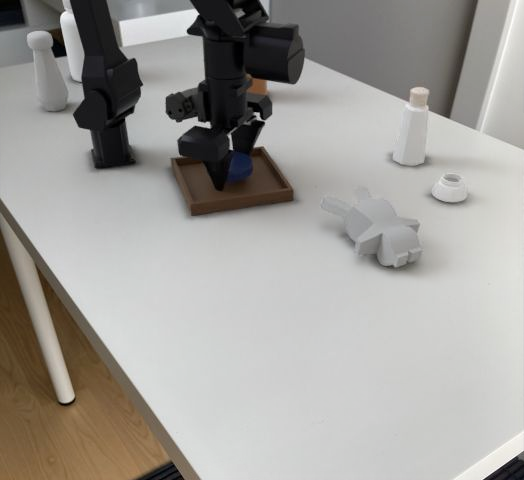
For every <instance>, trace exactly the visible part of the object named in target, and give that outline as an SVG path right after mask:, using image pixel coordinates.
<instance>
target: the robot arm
mask: <svg viewBox="0 0 524 480" xmlns="http://www.w3.org/2000/svg"><path fill="white" fill-rule="evenodd" d="M69 1H70V4H71V8H72V11H73V15H74V19H75V22H76V26H77V29H78V33H79V36H80V40H81V43H82V47H83V50H84V62H83V68H82V75H81V80H82V82H81V87H82V92H83V98H84V99H82V101H81V102H80V103H79V105H78V106H77V108H76V109H75V110H74V111H73V113H72V117H73V119H74V121H75V123H76V125H77V127H78V128H79V129H83V130H88V131H89V134H90V137H91V139H90V140H91V143H92V148H91V149H90V152H91V156H92V161H93V167H94V168H95V169H102V168H109V167H116V166H117V167H118V166H124V165H131V164H136V157H135V154H134V150H133V148H132V145H131V144H130V141H129V133H128V127H127V122H126V120H127V119H126V118H127V117H129V116H130V115H133V114H135V109H136V105H137V104H138V102H139V101H140V98H141V96H142V87H143V86H144V83H143V81H142V79H141V77H140V73H139V66H138V61H137V59H136V58H135V57H130V58H128V57H127V56H126V54H125V53H124V52H123V51H122V50H121V48H120V47H119V45H118V41H117V36H116V32H115V28H114V24H113V21H112V16H111V13H110V10H109V5H108V0H69ZM189 2H190V4H191V5H192V6H193V8H194V9H195V11H196V12H197V13H198V15H197V16H196V18H195V20H194V21H193V23H191V25H190V26H189V27H187V29H186V34H187V35H189V36H195V37H202V53H203V54H202V55H203V70H204V79H203V80H201V81H200V82H198V85H197V86H196V87H193V88H188V89H185V90H182V91H177V92H175V93H173V92H172V93H170V94H168V95H167V96H166V97H165V114H166V116H168V118H169V119H170V120H172V121H175V123H176V124H178V123H182V122H183V121H185V120H190V119H194V118H197V122H198V123H204V124H205V123H209V125H210V126H209V127H205V126H200V125H193V126H192V127H191V128H189V129H188V130H187V131H185V132H184V133H183V134H182V135H181V136H179V138H178V139H176V140H177V141H176V142H177V151H178V155H179V157H182V156H184V157H189V158H194V159H199V160H202V161H203V163H204V165H205V167H206V169H207V171H208V173H209V176H210V178H211V180H212V183H213V185H214V187H215V189H216V190H218V191H222V190H223V188H224V185H225V182H226V179H227V175H228V172H229V168H230V165H231V161H232V158H233V154H234V151H236V152H241V153H244V154H247V155H248V156H250V154H251V152H252V150H253V148H254V147H255V145H256V144H257V141H258V139H259V137H260V135H261V132H262V131H263V128H264V127H265V126H266V121H267V120H268V119H269V118H271V116H273V101H272V99H270V97H269V96H268V94H267V95H262V94H256V93H250V92H247V89H249V88H250V87H251V86H253V78H254V79H261V80H267V82H274V83H279V84H280V83H281V84H285V85H286V84H287V85H296V84H297V83H298V82H299V80H300V78H301V75H302V73H303V70H304V69H303V68H304V64H305V56H306V49H305V48H304V42H303V41H304V40H303V39H302V36H301V35H300V26H299V24H298V23H289V22H288V23H277V22H268V21H269V20H270V16H269V14H268V12H267V11H266V9H265V7H264V5H263V4H262V2H261V0H189ZM239 12H242V13H244V14H243V15H240V16H239V17H238V16H237V15H236V14H237V13H239ZM247 74H250V75H251V77H252V78H250V77H247ZM255 113H256V114H258V113H259V118H260V119H261V120H260V119H258V116H257V115H256V114H255ZM230 137H231V138H230ZM231 145H232V149H230V148H231Z"/></svg>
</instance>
